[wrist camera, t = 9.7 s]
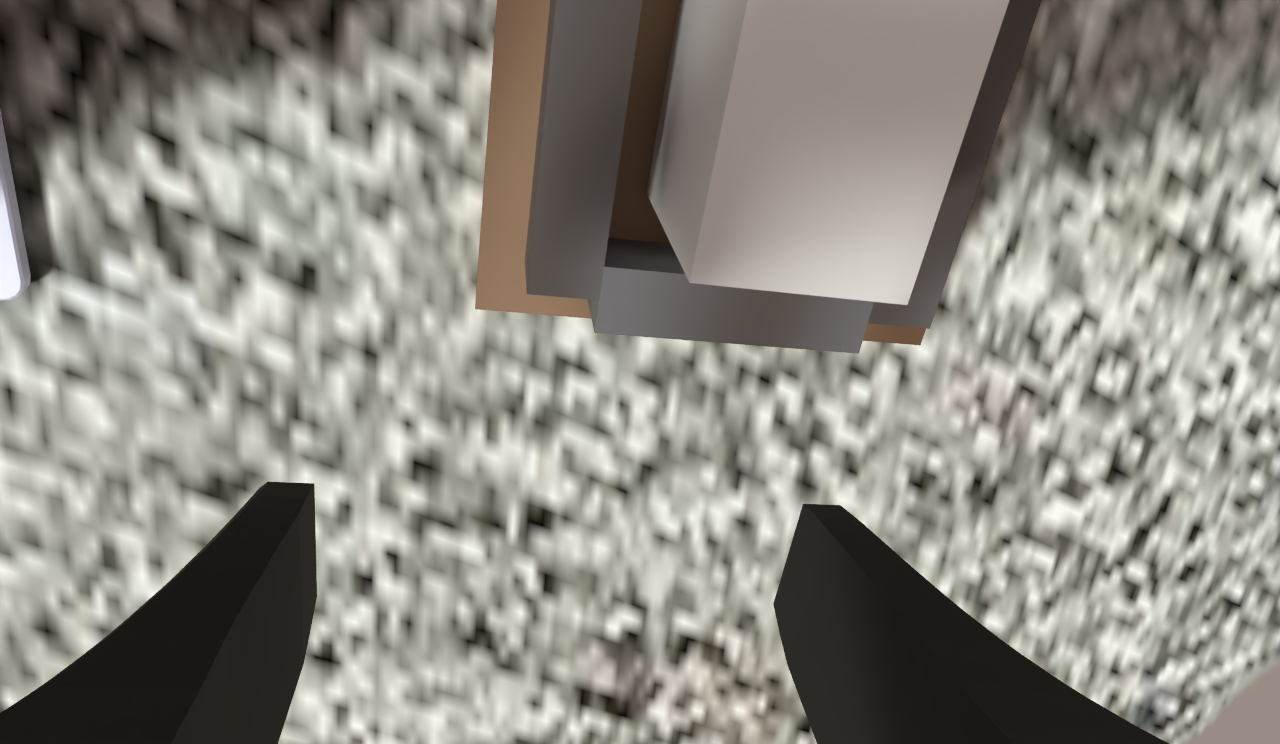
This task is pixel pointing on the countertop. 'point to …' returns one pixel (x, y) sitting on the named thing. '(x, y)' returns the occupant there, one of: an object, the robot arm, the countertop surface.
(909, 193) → the white pillar grey cap
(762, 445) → the countertop surface
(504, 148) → the cradle jig
